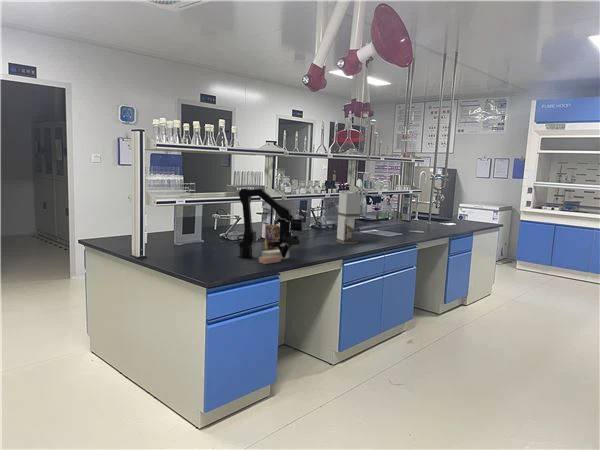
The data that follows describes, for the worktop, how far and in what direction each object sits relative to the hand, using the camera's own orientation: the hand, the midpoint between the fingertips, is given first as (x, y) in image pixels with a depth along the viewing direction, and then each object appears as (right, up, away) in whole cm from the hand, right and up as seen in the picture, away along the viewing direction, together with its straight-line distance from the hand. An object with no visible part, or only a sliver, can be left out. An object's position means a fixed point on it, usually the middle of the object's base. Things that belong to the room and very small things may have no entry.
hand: (283, 257), depth 251 cm
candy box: (-9, +3, +34) cm, 35 cm away
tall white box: (+43, +6, +70) cm, 82 cm away
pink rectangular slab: (-8, -2, -6) cm, 10 cm away
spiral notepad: (-5, -1, +6) cm, 8 cm away
